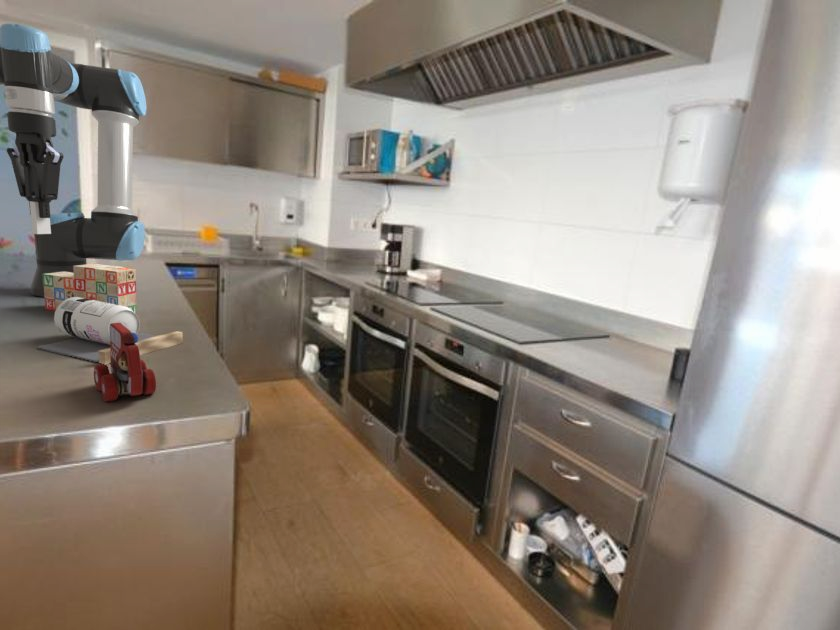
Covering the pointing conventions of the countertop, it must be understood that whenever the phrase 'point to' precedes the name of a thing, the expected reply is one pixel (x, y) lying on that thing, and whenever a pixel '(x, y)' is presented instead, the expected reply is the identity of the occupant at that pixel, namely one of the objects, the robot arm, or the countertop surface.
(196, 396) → the countertop surface
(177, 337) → the stop rail
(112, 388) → the toy fire truck
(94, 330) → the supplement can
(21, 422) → the countertop surface
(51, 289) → the stack of blocks
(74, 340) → the mat
